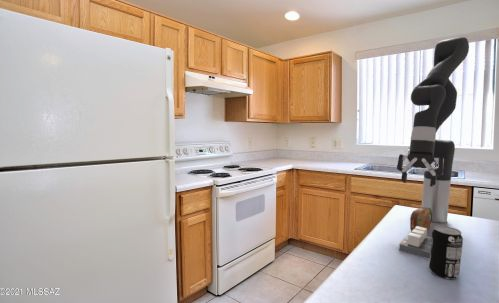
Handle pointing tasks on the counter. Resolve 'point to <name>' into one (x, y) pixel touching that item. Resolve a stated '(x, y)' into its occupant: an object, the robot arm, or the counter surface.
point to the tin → (421, 218)
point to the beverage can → (446, 252)
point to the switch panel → (419, 251)
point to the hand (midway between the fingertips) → (417, 184)
